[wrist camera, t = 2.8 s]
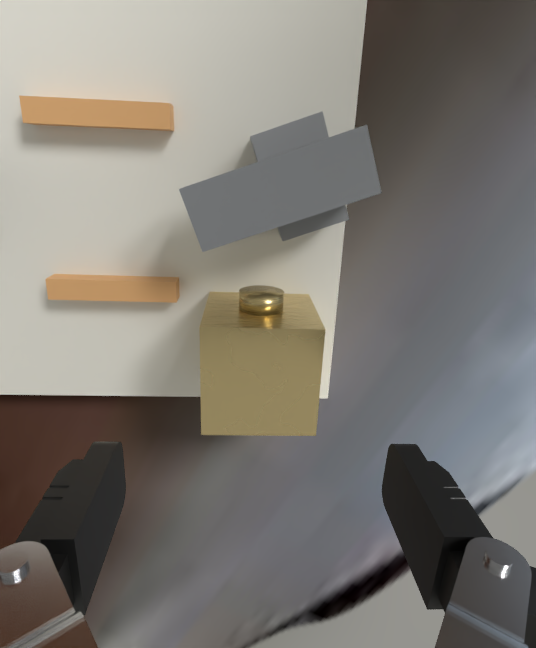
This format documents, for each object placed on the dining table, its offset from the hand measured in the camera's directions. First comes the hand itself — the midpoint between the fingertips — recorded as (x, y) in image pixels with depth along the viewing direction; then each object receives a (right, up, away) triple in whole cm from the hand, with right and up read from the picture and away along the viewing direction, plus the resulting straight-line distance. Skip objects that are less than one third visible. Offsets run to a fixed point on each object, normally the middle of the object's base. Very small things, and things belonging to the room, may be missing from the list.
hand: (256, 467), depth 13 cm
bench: (-7, +10, +8) cm, 15 cm away
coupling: (0, +4, +10) cm, 10 cm away
